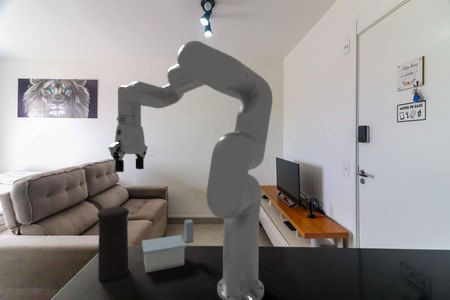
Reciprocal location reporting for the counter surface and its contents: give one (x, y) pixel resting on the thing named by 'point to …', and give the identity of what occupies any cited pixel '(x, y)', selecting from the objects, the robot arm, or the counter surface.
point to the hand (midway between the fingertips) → (130, 170)
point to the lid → (169, 241)
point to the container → (113, 243)
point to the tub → (164, 260)
